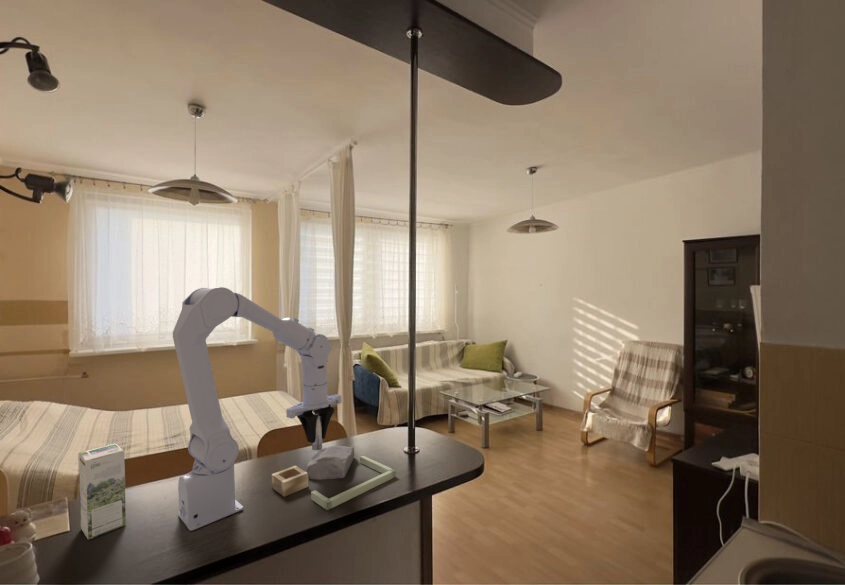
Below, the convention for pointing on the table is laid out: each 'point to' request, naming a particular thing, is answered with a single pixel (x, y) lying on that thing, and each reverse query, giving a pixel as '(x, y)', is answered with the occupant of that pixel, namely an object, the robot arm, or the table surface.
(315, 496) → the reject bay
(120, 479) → the syrup box
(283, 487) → the block
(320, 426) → the cylinder
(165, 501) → the table surface
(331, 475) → the stone block
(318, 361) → the robot arm
